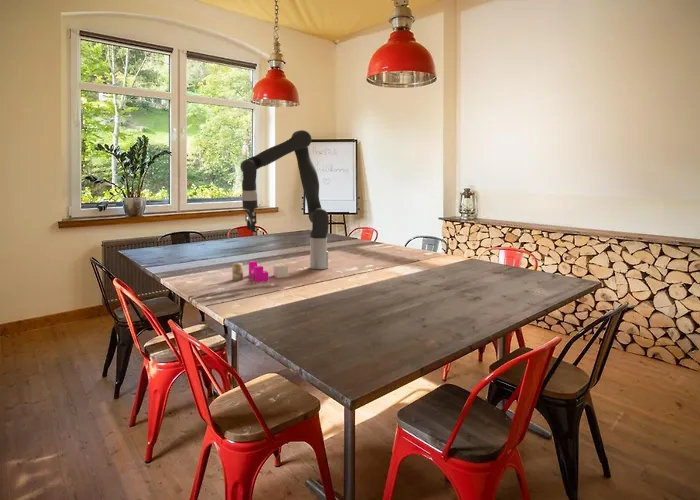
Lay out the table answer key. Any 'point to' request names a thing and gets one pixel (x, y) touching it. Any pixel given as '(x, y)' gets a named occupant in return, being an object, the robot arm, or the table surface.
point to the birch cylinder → (237, 271)
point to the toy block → (257, 272)
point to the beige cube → (280, 270)
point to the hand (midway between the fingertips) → (251, 230)
